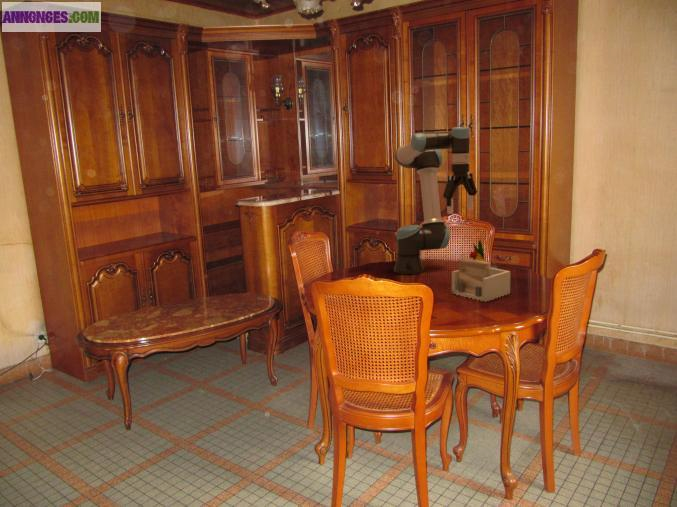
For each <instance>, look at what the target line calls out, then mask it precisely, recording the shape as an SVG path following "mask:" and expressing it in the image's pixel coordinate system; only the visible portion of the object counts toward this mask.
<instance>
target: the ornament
mask: <svg viewBox="0 0 677 507" xmlns="http://www.w3.org/2000/svg"><path fill="white" fill-rule="evenodd" d="M477 243H478V244H477V245H476V244H475V243H474V242H473V243H472V244H473V249H474V250H473V251H470V253H469V259H473V260H479V261H484V262H487V260H485V253H484V247H483V243H482V240H481V239H479V240H478V241H477Z"/></svg>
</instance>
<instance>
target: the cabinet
mask: <svg viewBox="0 0 677 507" xmlns="http://www.w3.org/2000/svg"><path fill="white" fill-rule="evenodd" d="M451 294H452V295H454V294H456V296H458V295H460V296H459V297H462V296H463V298H466V297H468V298H467V299H471V298H472V299H471V300H475V299H476V300H475V301H479V300H480V301H479V302H483V301H484V303H487V301H488V302H490V300H491V301H493V300H496V299H499V298H501V296H502V297H504V295H505V296H508V295H510V294H511V271H510V270H505V269H500V268H498V269H496V268H491V275H490V276H489V277H485V278H483V296H481V287H478V286H477V287H475V294H472V293H468V292H464V283H459V269H457V270H453V271H451ZM507 294H508V295H507ZM498 297H499V298H498ZM495 298H496V299H495Z"/></svg>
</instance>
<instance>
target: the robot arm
mask: <svg viewBox="0 0 677 507" xmlns="http://www.w3.org/2000/svg"><path fill="white" fill-rule="evenodd" d="M470 136H471V134H470V128H469V127H468V126H455V127H452V129H451V131H441V132H440V131H438V132H417V133H416V132H415V133H412V135H411V137H410V142H408V143H407V144H403V145H401V146H399V147H398V148H397V149H396V150H395V154H394V160H395V162H396V163H397V164H398V165H399V166H400V167H402V168H406V169H415V171H416V173H417V174H418V175H419V179H420V180H419V181H420V190H421V200H422V203H421V204H422V211H423V212H422V213H423V221H422V223H421V226H420V225H419V224H409V225H404V226H401V227H399V228H398V229H397V230H396V253H397V254H396V260H395V264H394V266H393V273H395V272H396V273H395V274H397V273H401V274H400V275H403V274H414V275H419V274H418V273H420V274H422V273H424V271H425V267H424V265H423V261H422V258H421V251H431V250H432V251H433V250H442V249H446V248H447V247H448V245H449V244H450V237H451V232H450V227H449V226H448V225H446V223H445V221H444V220H443V219H442V215H441V205H440V195H439V186H438V175H437V173H438V172H439V170H440V167H441V166H442V164H443V154H442V151H441V150H451V172H452V173H453V175H448V176H447V181H446V184H445V188H444V191H443V195H442V197H443V198H444V199H446V214H449V215H451V214H452V215H453V214H454V198H453V197H454V194H455V192H456V190H457V189H458V187H459V186H461V185H462V186H463V188H464V189H465V190H466V193H467V195H466V196H467V199H466V204H467V205H466V210H469V211H473V210H474V196H476V195H477V193H478V190H477V187H476V185H475V181H474V175H473V173H472V172H471V173H470V142H471V141H470Z"/></svg>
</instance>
